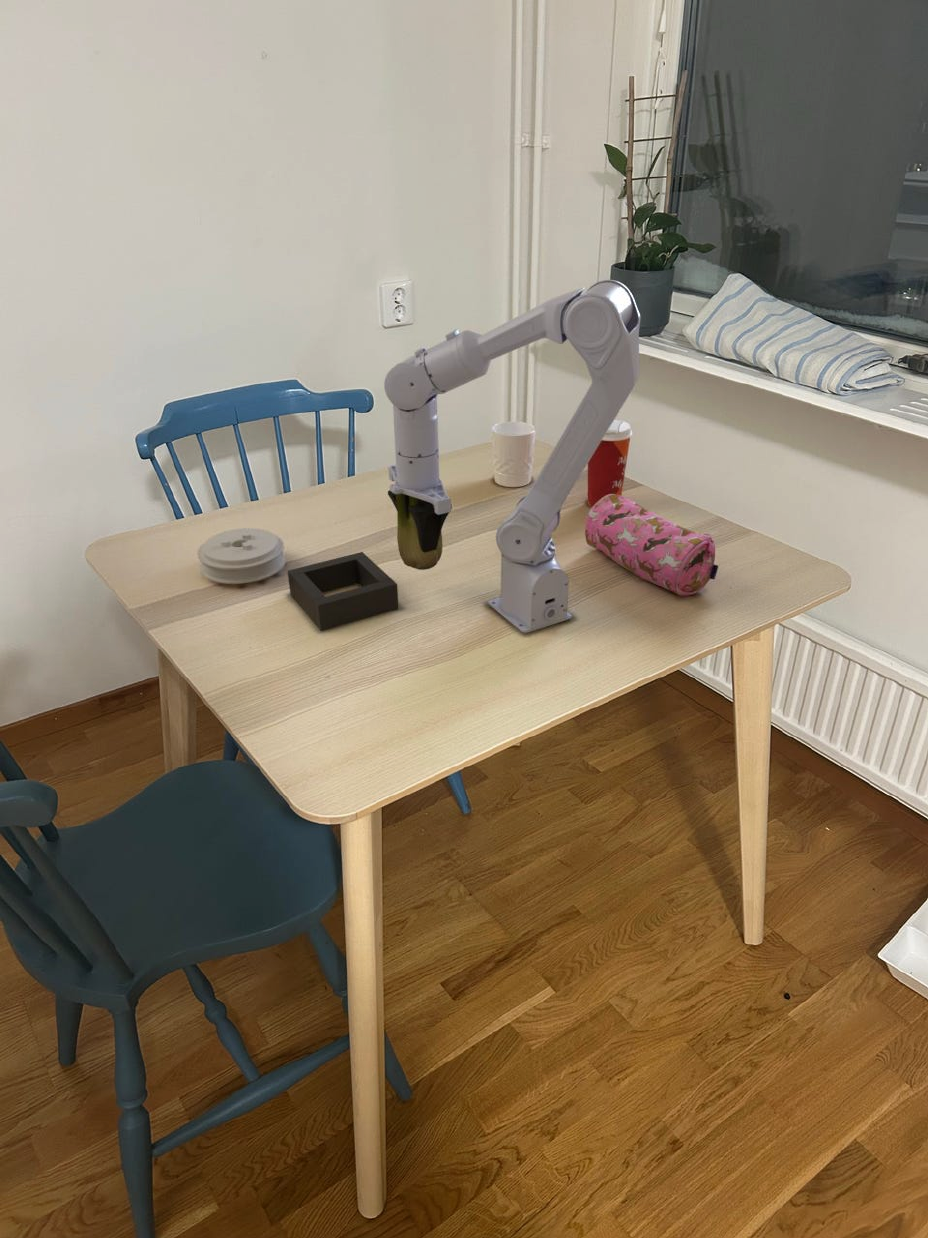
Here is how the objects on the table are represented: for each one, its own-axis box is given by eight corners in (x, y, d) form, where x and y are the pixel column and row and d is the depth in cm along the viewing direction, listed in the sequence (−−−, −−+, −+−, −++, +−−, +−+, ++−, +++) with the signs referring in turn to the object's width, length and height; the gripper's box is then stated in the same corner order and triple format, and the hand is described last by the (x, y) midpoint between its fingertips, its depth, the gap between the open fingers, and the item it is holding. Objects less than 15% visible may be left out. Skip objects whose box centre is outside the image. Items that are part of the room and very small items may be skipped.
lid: (261, 594, 128) (257, 563, 125) (184, 582, 131) (178, 552, 128) (300, 556, 138) (297, 527, 136) (228, 546, 141) (223, 517, 139)
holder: (398, 609, 124) (397, 583, 122) (320, 631, 119) (318, 605, 117) (364, 575, 132) (362, 551, 130) (290, 595, 127) (287, 570, 125)
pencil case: (721, 588, 128) (730, 532, 124) (675, 606, 124) (683, 549, 119) (618, 536, 143) (623, 484, 139) (574, 551, 139) (578, 498, 134)
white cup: (488, 487, 161) (488, 434, 156) (494, 471, 168) (494, 420, 163) (531, 489, 160) (533, 436, 155) (535, 473, 167) (537, 422, 162)
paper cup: (629, 512, 151) (636, 432, 144) (584, 512, 152) (589, 432, 144) (622, 494, 158) (629, 417, 151) (579, 494, 158) (584, 417, 151)
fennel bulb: (397, 571, 124) (392, 491, 118) (406, 555, 129) (402, 477, 122) (437, 574, 123) (434, 494, 117) (445, 559, 127) (443, 480, 121)
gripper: (366, 440, 121) (372, 530, 128) (415, 473, 110) (419, 570, 117) (412, 431, 124) (416, 520, 131) (464, 462, 113) (465, 558, 120)
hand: (420, 543), depth 124 cm, fingers closed on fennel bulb, 4 cm apart
